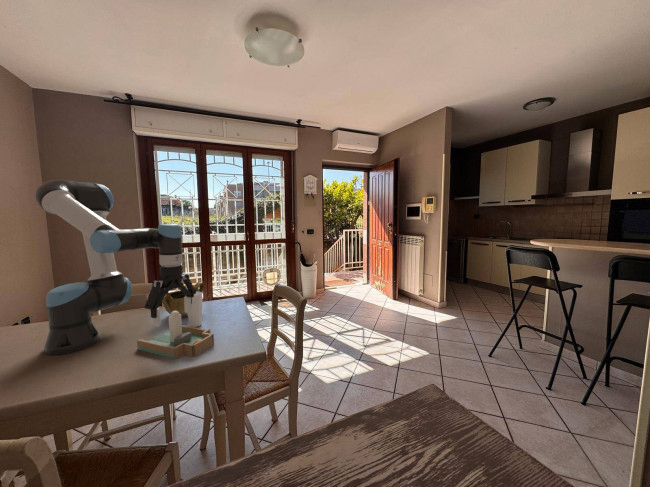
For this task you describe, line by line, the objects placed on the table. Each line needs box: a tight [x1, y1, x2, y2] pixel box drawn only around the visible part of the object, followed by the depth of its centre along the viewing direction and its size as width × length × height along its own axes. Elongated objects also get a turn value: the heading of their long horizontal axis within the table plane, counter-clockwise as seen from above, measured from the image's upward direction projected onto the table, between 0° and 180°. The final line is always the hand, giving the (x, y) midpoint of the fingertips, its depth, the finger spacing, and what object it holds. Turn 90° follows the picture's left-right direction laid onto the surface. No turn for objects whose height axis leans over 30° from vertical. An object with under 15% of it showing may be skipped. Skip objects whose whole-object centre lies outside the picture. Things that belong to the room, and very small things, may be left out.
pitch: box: [136, 324, 215, 360], centre depth 100 cm, size 24×16×4 cm, turn 70°
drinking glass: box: [185, 292, 203, 328], centre depth 118 cm, size 7×7×15 cm
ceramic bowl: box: [161, 281, 206, 318], centre depth 130 cm, size 22×17×15 cm
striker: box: [168, 311, 192, 345], centre depth 100 cm, size 6×6×12 cm
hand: (173, 318), depth 100 cm, fingers open, 13 cm apart
